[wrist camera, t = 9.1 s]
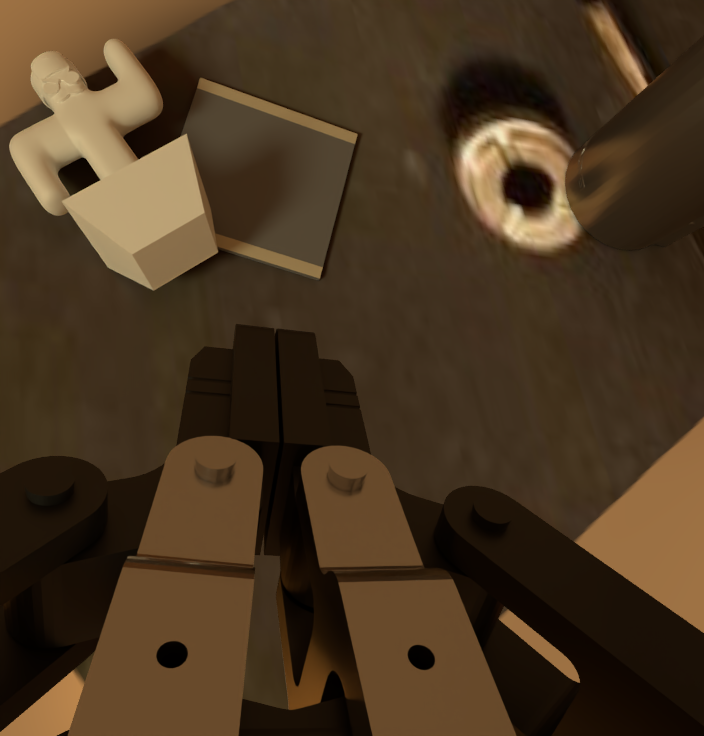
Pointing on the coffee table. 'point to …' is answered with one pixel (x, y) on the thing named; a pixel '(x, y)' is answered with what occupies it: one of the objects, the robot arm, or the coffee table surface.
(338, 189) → the felt mat
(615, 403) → the coffee table surface
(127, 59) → the figurine
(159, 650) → the robot arm
